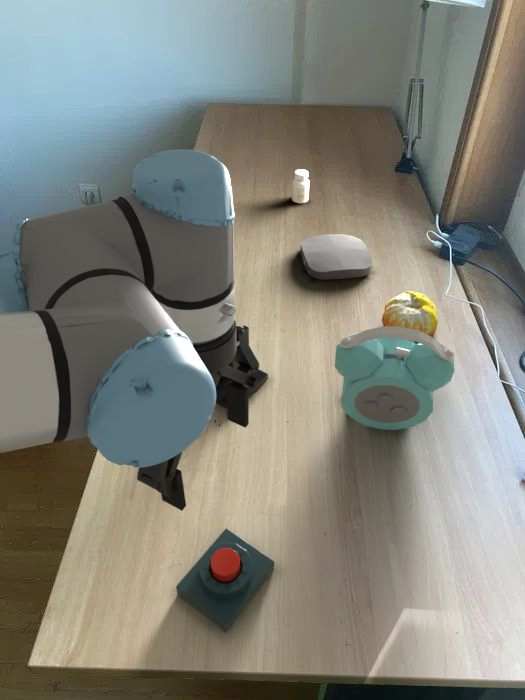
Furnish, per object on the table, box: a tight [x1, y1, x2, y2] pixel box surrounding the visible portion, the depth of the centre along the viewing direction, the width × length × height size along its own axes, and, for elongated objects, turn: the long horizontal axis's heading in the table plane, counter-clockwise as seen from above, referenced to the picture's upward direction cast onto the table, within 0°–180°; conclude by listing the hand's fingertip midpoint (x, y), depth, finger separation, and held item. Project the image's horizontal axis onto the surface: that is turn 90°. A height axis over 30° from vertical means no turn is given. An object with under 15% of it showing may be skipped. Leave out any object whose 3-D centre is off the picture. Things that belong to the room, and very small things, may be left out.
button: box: [211, 548, 240, 582], centre depth 70 cm, size 4×4×2 cm
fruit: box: [381, 291, 439, 344], centre depth 109 cm, size 11×10×8 cm
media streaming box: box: [300, 233, 373, 280], centre depth 127 cm, size 15×15×3 cm
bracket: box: [215, 324, 269, 410], centre depth 94 cm, size 10×9×13 cm
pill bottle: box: [291, 168, 310, 204], centre depth 147 cm, size 4×4×8 cm
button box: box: [175, 527, 275, 634], centre depth 71 cm, size 10×8×4 cm
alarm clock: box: [334, 325, 455, 431], centre depth 87 cm, size 17×10×20 cm, turn 80°
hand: (208, 459), depth 67 cm, fingers open, 13 cm apart
